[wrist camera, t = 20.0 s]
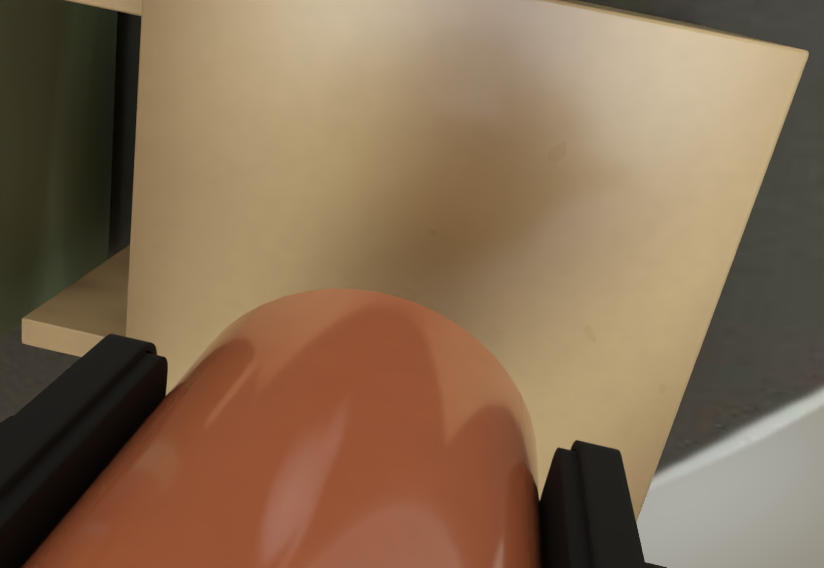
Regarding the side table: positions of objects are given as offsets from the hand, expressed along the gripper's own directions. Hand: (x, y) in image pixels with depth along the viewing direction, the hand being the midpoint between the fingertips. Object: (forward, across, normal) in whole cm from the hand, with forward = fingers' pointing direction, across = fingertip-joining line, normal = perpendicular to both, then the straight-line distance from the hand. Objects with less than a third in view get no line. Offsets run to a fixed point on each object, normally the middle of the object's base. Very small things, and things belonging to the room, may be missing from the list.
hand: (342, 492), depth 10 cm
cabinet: (+18, 0, 0) cm, 18 cm away
